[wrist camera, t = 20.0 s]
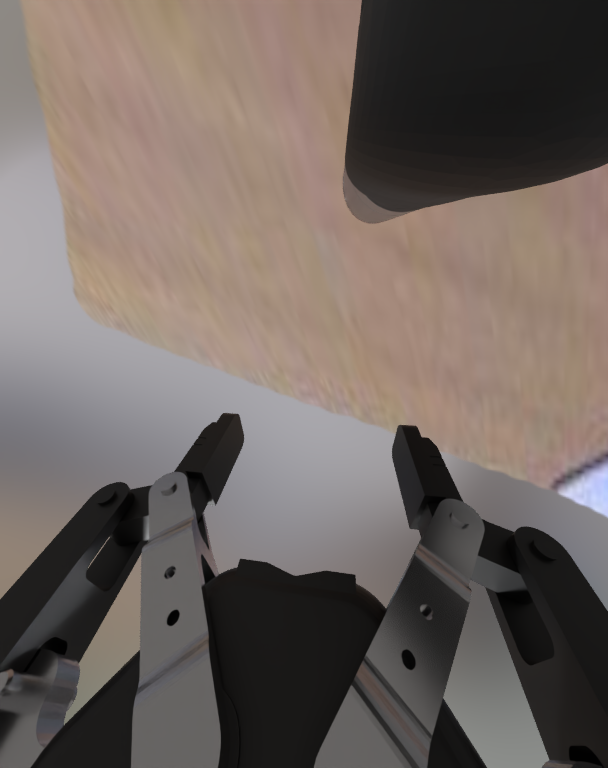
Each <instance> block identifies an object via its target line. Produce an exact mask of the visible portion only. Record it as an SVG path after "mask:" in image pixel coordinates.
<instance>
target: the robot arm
mask: <svg viewBox="0 0 608 768" xmlns="http://www.w3.org/2000/svg"><path fill="white" fill-rule="evenodd" d="M607 163H608V0H362V5H361V15H360V24H359V30H358V40H357V50H356V60H355V70H354V80H353V89H352V98H351V107H350V115H349V124H348V134H347V143H346V153H345V168H344V174H343V175H344V176H343V192H344V197H345V201H346V203H347V206H348V208H349V209H350V211H351V212H352V214H353V215H354V216H355V217H357V218H358V219H359V220H361V221H363V222H367V223H380V222H383V221H387V220H390V219H393V218H396V217H399V216H401V215H404V214H407V213H410V212H412V211H415V210H419V209H422V208H425V207H430V206H435V205H440V204H445V203H449V202H453V201H458V200H461V199H465V198H469V197H474V196H481V195H488V194H495V193H502V192H508V191H514V190H519V189H524V188H528V187H533V186H538V185H542V184H547V183H551V182H555V181H558V180H562V179H565V178H568V177H571V176H574V175H577V174H580V173H583V172H586V171H589V170H592V169H595V168H598V167H600V166H603V165H605V164H607ZM243 443H244V434H243V429H242V425H241V420H240V417H239V414H230V413H223V414H222V415H221V416H220V418H219V420H218V421H217V423H216V422H213V423H211V424H210V425H208V426H207V427H206V428H205V429H204V430H203V431H202V432H201V434H200V436H199V437H198V439H197V440H196V441H195V443H194V445H193V446H192V447H191V448H190V450H189V451H188V453H187V454H186V456H185V457H184V459H183V460H182V461H181V463H180V464H179V466H178V467H177V469H176V470H175V471H174V472H172V473H169V474H166V475H164V476H162V477H161V478H159V479H158V480H157V481H156V482H155V483H154V484H153V485H151V486H146V487H141V488H136V489H131V490H130V488H129V487H128V485H127V484H125V483H122V482H116V483H113V484H109V485H107V486H105V487H103V488H101V489H100V490H99V491H97V492H96V493H95V494H93V495H92V497H91V498H90V499H89V500H88V501H87V502H86V503H85V504H84V505H83V507H82V508H81V509H80V510H79V511H78V512H77V513H76V514H75V516H74V517H73V518H72V519H71V520H70V521H69V522H68V524H67V525H66V526H65V527H64V528H63V529H62V530H61V532H60V533H59V534H58V535H57V536H56V537H55V538H54V539H53V541H52V542H51V543H50V544H49V545H48V546H47V547H46V548H45V550H44V551H43V552H42V553H41V554H40V555H39V556H38V557H37V559H36V560H35V561H34V562H33V563H32V564H31V566H30V567H29V568H28V569H27V570H26V571H25V572H24V573H23V574H22V576H21V577H20V578H19V579H18V580H17V581H16V582H15V584H14V585H13V586H12V587H11V588H10V589H9V590H8V591H7V593H6V594H5V595H4V596H3V597H2V598H1V599H0V768H487V767H486V765H485V764H484V762H483V761H482V759H481V758H480V756H479V754H478V753H477V751H476V749H475V748H474V746H473V745H472V743H471V742H470V740H469V738H468V737H467V735H466V734H465V732H464V730H463V729H462V727H461V726H460V724H459V723H458V721H457V720H456V718H455V716H454V715H453V713H452V711H451V710H450V708H449V707H448V705H447V704H446V702H445V700H444V699H443V695H444V692H445V689H446V685H447V681H448V678H449V674H450V671H451V667H452V664H453V660H454V656H455V653H456V649H457V645H458V642H459V638H460V635H461V631H462V628H463V624H464V621H465V617H466V613H467V610H468V606H469V603H470V598H471V589H470V588H469V583H470V580H472V581H474V582H476V583H478V584H480V585H482V586H484V587H485V588H486V590H487V593H488V595H489V598H490V601H491V604H492V606H493V609H494V612H495V615H496V617H497V620H498V623H499V625H500V628H501V631H502V633H503V636H504V639H505V641H506V644H507V647H508V649H509V652H510V655H511V658H512V660H513V663H514V666H515V668H516V671H517V674H518V676H519V679H520V682H521V684H522V687H523V690H524V693H525V695H526V698H527V700H528V703H529V706H530V709H531V711H532V714H533V717H534V719H535V722H536V724H537V728H538V730H539V732H540V736H541V738H542V741H543V743H544V746H545V749H546V752H547V754H548V757H549V761H548V762H546V763H545V764H544V765H543V766H542V768H608V611H607V610H606V608H605V607H604V605H603V604H602V602H601V601H600V599H599V598H598V596H597V595H596V593H595V592H594V590H593V589H592V587H591V586H590V584H589V583H588V581H587V580H586V579H585V577H584V576H583V574H582V573H581V571H580V570H579V568H578V567H577V565H576V564H575V562H574V561H573V559H572V558H571V556H570V555H569V554H568V552H567V551H566V550H565V549H564V547H563V546H562V545H561V544H560V543H558V542H557V541H556V540H555V539H554V538H552V537H550V536H549V535H548V534H546V533H544V532H542V531H540V530H538V529H535V528H531V527H520V528H518V529H517V530H516V531H515V532H512V531H510V530H507V529H504V528H502V527H500V526H497V525H494V524H492V523H489V522H487V521H485V520H483V519H481V517H480V516H479V515H478V513H476V511H475V510H474V509H473V508H471V507H470V506H469V505H467V504H466V503H464V502H463V500H462V499H461V497H460V494H459V492H458V490H457V488H456V486H455V484H454V482H453V479H452V478H451V475H450V473H449V471H448V469H447V467H446V465H445V463H444V461H443V459H442V457H441V454H440V452H439V450H438V448H437V446H436V445H435V444H434V443H433V442H432V441H431V440H430V439H429V438H423V437H421V435H420V432H419V430H418V428H417V427H416V426H409V425H399V426H398V428H397V432H396V436H395V440H394V444H393V448H392V458H393V463H394V467H395V471H396V475H397V478H398V482H399V487H400V491H401V495H402V499H403V503H404V506H405V511H406V515H407V519H408V523H409V527H410V529H417V530H419V532H420V535H421V540H420V542H419V544H418V546H417V548H416V550H415V552H414V554H413V556H412V558H411V560H410V562H409V564H408V566H407V568H406V570H405V572H404V574H403V576H402V578H401V580H400V582H399V585H398V586H397V588H396V590H395V592H394V594H393V596H392V598H391V600H390V603H389V604H388V607H387V608H385V607H384V606H383V605H382V604H381V602H379V600H378V599H377V598H376V597H375V596H374V595H372V594H371V593H370V592H369V591H367V590H366V589H364V588H363V587H361V586H359V585H357V584H356V578H355V575H353V574H346V573H339V572H331V571H322V572H316V573H310V574H305V575H299V576H293V575H291V574H289V573H287V572H285V571H283V570H281V569H279V568H277V567H275V566H273V565H271V564H269V563H267V562H260V561H253V560H246V559H240V561H239V564H238V567H237V568H234V569H230V570H227V571H225V572H223V573H221V574H219V573H218V570H217V566H216V563H215V560H214V558H213V554H212V549H211V545H210V540H209V535H208V530H207V526H206V521H205V516H204V513H203V512H204V510H205V508H206V506H207V505H216V504H217V502H218V499H219V497H220V495H221V493H222V491H223V488H224V486H225V484H226V482H227V480H228V477H229V475H230V473H231V471H232V468H233V466H234V464H235V462H236V460H237V458H238V455H239V453H240V451H241V449H242V446H243ZM108 537H110V538H109V540H108V541H107V542H106V544H105V545H104V543H105V541H106V540H107V539H108ZM103 545H104V547H103V548H102V550H101V551H100V552H99V550H100V549H101V547H102V546H103ZM98 552H99V554H98V555H97V557H96V558H95V559H94V557H95V556H96V554H97V553H98ZM141 553H142V560H141V561H142V562H141V621H140V650H139V651H138V652H137V653H136V654H135V655H134V656H133V657H132V658H131V659H130V660H129V661H128V662H127V663H126V664H125V665H124V666H123V667H122V668H121V669H120V670H119V671H118V672H117V673H116V674H115V675H114V676H113V677H112V678H111V679H110V680H109V681H108V682H107V683H106V684H105V685H104V686H103V687H102V688H101V689H100V690H99V691H98V692H97V693H96V694H95V695H94V696H93V697H92V698H91V699H90V700H89V701H88V702H87V703H86V704H85V705H84V706H83V707H82V708H81V709H80V710H79V711H78V712H77V713H76V714H75V715H74V716H73V717H72V718H71V719H70V720H69V721H68V722H67V723H66V724H65V725H64V719H65V715H66V711H67V710H68V709H69V708H70V707H71V705H72V704H73V702H74V700H75V697H76V695H77V684H78V680H79V675H80V668H79V662H80V660H81V659H82V657H83V655H84V653H85V651H86V650H87V648H88V646H89V644H90V643H91V641H92V639H93V637H94V636H95V634H96V632H97V630H98V629H99V627H100V625H101V623H102V621H103V620H104V618H105V616H106V615H107V612H108V611H109V609H110V607H111V605H112V604H113V602H114V600H115V599H116V597H117V595H118V593H119V592H120V590H121V588H122V586H123V584H124V583H125V581H126V579H127V578H128V576H129V574H130V572H131V570H132V569H133V567H134V565H135V563H136V562H137V560H138V558H139V556H140V555H141ZM93 559H94V561H93V562H92V564H91V565H90V563H91V561H92V560H93ZM89 565H90V567H89ZM88 567H89V568H88Z"/></svg>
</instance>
